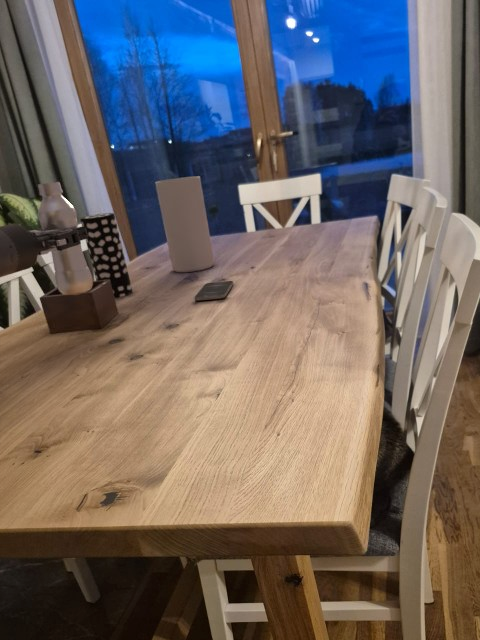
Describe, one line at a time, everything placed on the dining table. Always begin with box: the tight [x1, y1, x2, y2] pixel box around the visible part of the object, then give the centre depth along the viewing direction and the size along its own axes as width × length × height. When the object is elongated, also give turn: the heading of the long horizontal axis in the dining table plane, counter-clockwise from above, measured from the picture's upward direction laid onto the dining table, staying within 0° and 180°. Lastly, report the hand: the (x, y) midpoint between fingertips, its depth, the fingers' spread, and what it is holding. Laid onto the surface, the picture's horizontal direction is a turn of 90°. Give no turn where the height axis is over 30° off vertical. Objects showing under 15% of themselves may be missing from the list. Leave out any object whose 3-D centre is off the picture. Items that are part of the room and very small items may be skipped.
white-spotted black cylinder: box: [79, 212, 133, 299], centre depth 149 cm, size 8×8×20 cm
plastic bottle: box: [37, 181, 94, 295], centre depth 107 cm, size 6×7×20 cm
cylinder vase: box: [154, 175, 215, 273], centre depth 168 cm, size 12×12×25 cm
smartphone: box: [194, 280, 234, 301], centre depth 142 cm, size 8×1×15 cm
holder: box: [39, 279, 119, 335], centre depth 128 cm, size 12×12×8 cm
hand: (71, 232), depth 108 cm, fingers closed on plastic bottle, 6 cm apart
